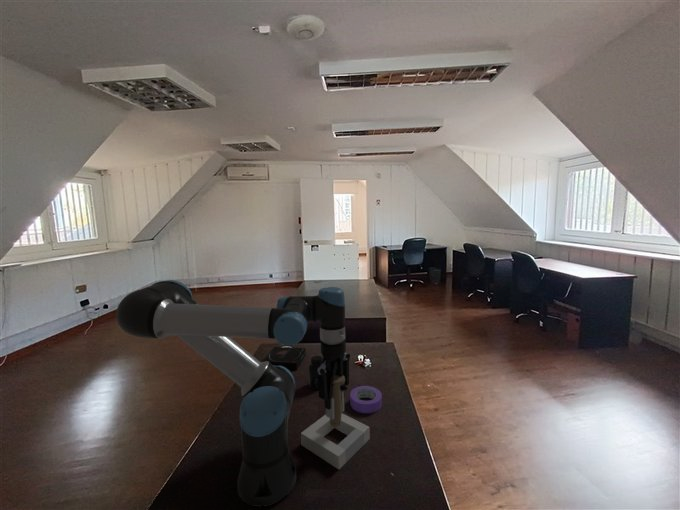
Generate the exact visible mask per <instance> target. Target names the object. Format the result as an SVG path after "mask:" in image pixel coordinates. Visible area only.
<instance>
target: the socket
mask: <svg viewBox="0 0 680 510" xmlns="http://www.w3.org/2000/svg"><path fill="white" fill-rule="evenodd" d="M330 421H331V420H330V418H329V417H327V416H326V414H324V415H323V416H322V417H320V418H318V420H316V421H315V422H314V423H312V424H311V425H309V426H308V427H307V428H305V429H304V430H303V431H302V432H301V433H300V444H301V446H302V447H304V449H307V450H308V451H310V452H311V453H313V454H314V455H316V456H318V457H319V458H321V459H322V460H324V461H325V462H326V463H328V464H329V465H331V466H333V467H334V468H336V469H337V470H340V469H341V468H342V467H344V466H345V464H347V462H348V461H350V459H351V458H352V457H353V456H355V454H357V452H358V451H359V450H360V449H361V448H362V447H363V446H365V444H366V443H367V442H368V441H369V440H370V439H371V433H370V425H369V426H368V425H366V424H365V423H363V422H360V421H358V420H356V419H355V418H352V417H351V416H348V415H347V414H345V413H342V415H341V423H340V426H337V427H334V426H332V425H331V424H330ZM334 429H335V430H337V431H338V432H339V431H340V433H342V434H344V435H346V437H344V439H342V440H341V441H340V442H339V443H335V442H333V441H331V440H329V439H328V438H326V437H325V436H326V435H328V434H329V433H330V432H332V431H333V430H334Z"/></svg>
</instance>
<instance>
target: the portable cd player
mask: <svg viewBox="0 0 680 510" xmlns="http://www.w3.org/2000/svg"><path fill="white" fill-rule="evenodd" d="M306 348H307V347H291V346H287V347H286V346H285V347H284V346H283V347H282V346H274V347H273V348H272V350H270V352H269V353H268V354H267V355H266V357H264V359H263V360H262V361H261V362H266V361H268V362H269V363H271V364H272V365H273V366H283V367H285V368H287V369H288V370H289V371H296V372H297V371H298V369H299V368H300V366H301V364H302V362H303V361H304V358H305V356H306V355H307V353H306V351H307V349H306Z"/></svg>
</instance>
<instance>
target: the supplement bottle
mask: <svg viewBox="0 0 680 510" xmlns="http://www.w3.org/2000/svg"><path fill="white" fill-rule="evenodd" d="M322 360H323V355H313V356H311V358H310V364H309V365H308V386H309V388H310V389H312V390H318V377H317V373H316V367H320V366H321V365H322Z"/></svg>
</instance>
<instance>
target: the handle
mask: <svg viewBox="0 0 680 510" xmlns="http://www.w3.org/2000/svg"><path fill="white" fill-rule="evenodd" d="M345 380H346V379H345V377H344V376H341V377H340V376H338V375H335V376H334V381H333V391H332V397H333V398H334V417H335V418H334V419H331V418H330V420H331V421H330V424H331V425H332V426H334V427H337V426H340V423H341V415H342V414H343V412H342V405H341V394H340V386H341V385H343V384H344V383H345Z"/></svg>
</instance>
